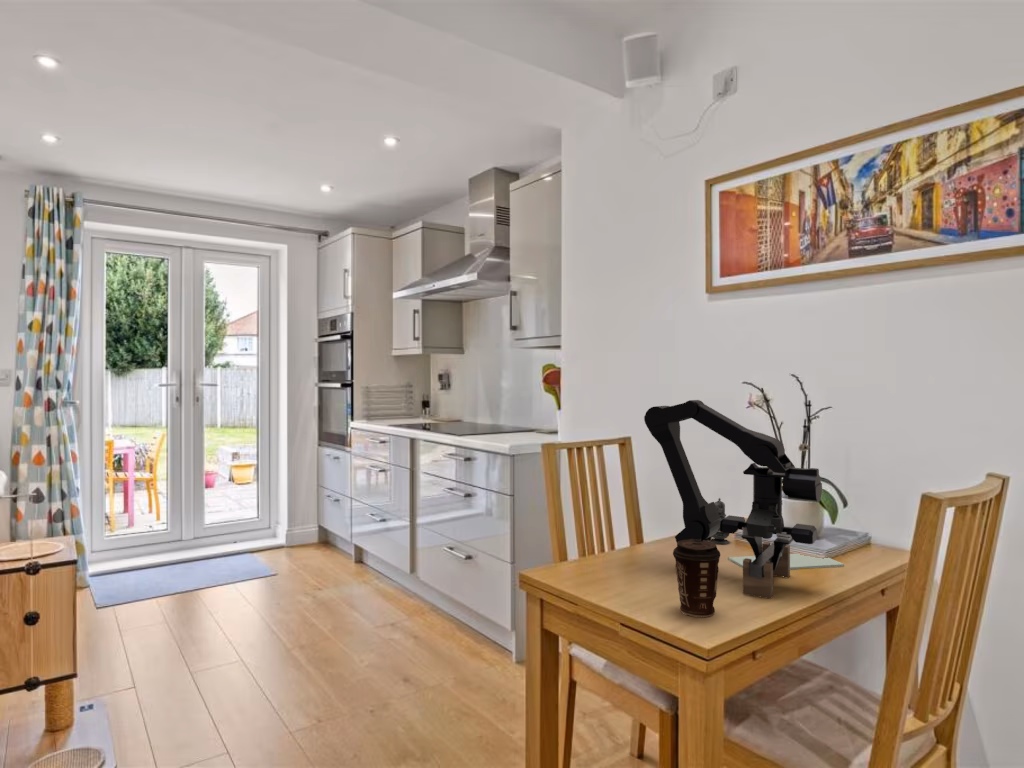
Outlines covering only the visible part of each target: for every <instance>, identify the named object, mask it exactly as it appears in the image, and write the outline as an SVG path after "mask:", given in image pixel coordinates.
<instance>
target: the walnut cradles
mask: <svg viewBox="0 0 1024 768" xmlns="http://www.w3.org/2000/svg"><path fill="white" fill-rule="evenodd" d="M770 545H771V542H768V541H764V542H762V552H764V551H765V550H766V549H767V548H768V547H769V546H770ZM790 545H791V544H789V545H786V546H785V548H784V550H783V552H782V558H781V559H780V560H779V562H778V565H777V567H776V570H775V571H774V570H773V563H772V562H766V563H765V564H764V576H763V578H762V579H761V578H756V577H750V576H749V564H750V563H752V559H747V558H745V559H744V560H743V568H742V594H743V593H744V594H743V595H748V594H749V595H750V596H753V595H755V597H759V596H761V597H760V598H764V597H767V598H766V599H769V598H771V597H772V598H773V597H774V575H777V576H776V577H779V576H784V577H783V578H785V577H788V578H789V577H790V576H791V575H790V574H791V569H790V554H791V546H790ZM789 575H790V576H789ZM772 598H771V599H772Z"/></svg>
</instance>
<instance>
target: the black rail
mask: <svg viewBox="0 0 1024 768" xmlns="http://www.w3.org/2000/svg"><path fill="white" fill-rule="evenodd" d="M773 554H774V542H772V543H770V546H769V547H768V548H767V549H766V550H765V551H764V552H762V553H761V554H760V555H759V556H758V557H757V558H756V559H755V560H754V561H753V562H752V563H750V564H749V576H750V577H756V578H761V579H762V578H763V576H764V564H765V563H766V562H772V563H773ZM781 558H782V554H781V557H780V559H781ZM780 559H779V560H780Z"/></svg>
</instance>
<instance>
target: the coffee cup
mask: <svg viewBox="0 0 1024 768" xmlns="http://www.w3.org/2000/svg"><path fill="white" fill-rule="evenodd" d="M672 556H673V558H674V560H675V567H676V566H677V567H676V578H677V579H676V580H677V586H678V588H677V589H678V595H679V602H680V606H679V610H681V611H680V612H681V613H682V614H683V613H684V614H683V615H685V614H686V615H685V616H687V615H690V616H689V617H691V616H697V617H696V618H707V617H711V616H714V614H715V611H716V610H715V606H714V602H715V599H716V597H717V591H718V580H719V563H720V559H721V552H720V550H719V549H718V547H717V544H714V543H711V542H709V541H706V540H703V541H701V540H698V539H696V540H694V539H689V540H682V541H678V542H676V547H674V549H673V552H672Z"/></svg>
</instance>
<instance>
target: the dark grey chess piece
mask: <svg viewBox="0 0 1024 768" xmlns="http://www.w3.org/2000/svg"><path fill="white" fill-rule="evenodd" d="M714 503H715V506H716V510H717V513H718V515H719V516H720V517H721V519H719V522H720V523H721V520H722V519H724V518H725V517H727V514H726V504H725V502H723V501H721V497H719V498H718V499H717V501H715V502H714ZM730 534H731V533H725V532H721V531H720V527H719V529H718V532H717V533H716V534H714V535H712V538H711V541H708V542H711V543H714V544H715V545H720V546H721V545H722V546H724V545H730V543H731V541H729V540H727V538H728V537H729V536H730Z"/></svg>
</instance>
